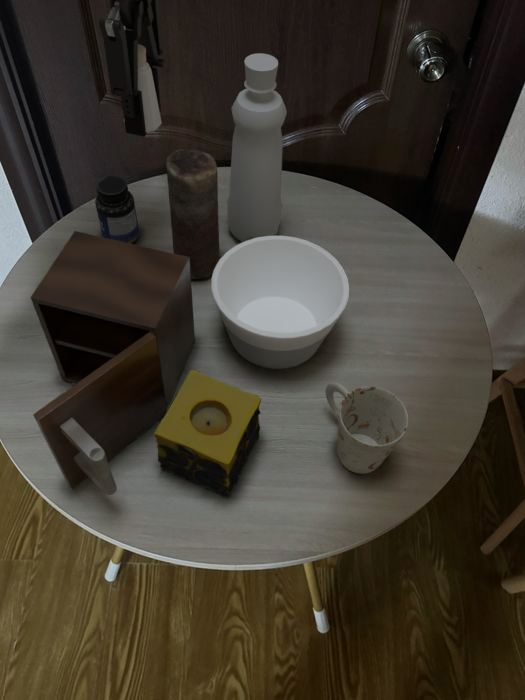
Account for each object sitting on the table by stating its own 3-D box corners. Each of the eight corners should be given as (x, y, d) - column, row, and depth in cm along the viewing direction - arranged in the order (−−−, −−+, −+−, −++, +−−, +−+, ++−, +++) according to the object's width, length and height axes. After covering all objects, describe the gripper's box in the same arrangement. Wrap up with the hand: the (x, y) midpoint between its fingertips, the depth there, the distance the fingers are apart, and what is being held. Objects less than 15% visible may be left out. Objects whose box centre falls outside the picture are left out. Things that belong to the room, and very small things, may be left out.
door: (198, 443, 82) (193, 368, 68) (103, 524, 75) (75, 460, 61) (162, 409, 85) (149, 331, 71) (67, 484, 78) (32, 414, 64)
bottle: (281, 214, 109) (296, 47, 85) (278, 250, 104) (293, 83, 80) (229, 210, 110) (230, 42, 85) (224, 246, 104) (223, 77, 80)
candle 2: (193, 407, 85) (190, 366, 77) (261, 434, 83) (264, 394, 75) (157, 469, 79) (149, 431, 71) (229, 500, 77) (229, 464, 69)
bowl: (309, 273, 101) (317, 223, 93) (359, 364, 91) (373, 317, 82) (196, 300, 97) (193, 250, 88) (235, 399, 86) (236, 353, 78)
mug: (356, 494, 79) (371, 458, 71) (296, 423, 84) (303, 383, 76) (403, 460, 82) (423, 422, 74) (342, 394, 88) (353, 352, 80)
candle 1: (184, 244, 104) (176, 141, 88) (225, 254, 103) (225, 151, 87) (168, 275, 99) (156, 173, 83) (211, 286, 99) (208, 185, 83)
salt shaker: (121, 133, 88) (110, 57, 79) (126, 111, 91) (117, 36, 82) (159, 135, 88) (153, 60, 79) (163, 113, 91) (158, 38, 82)
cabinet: (167, 407, 85) (155, 328, 71) (62, 380, 87) (30, 297, 73) (195, 341, 92) (189, 256, 78) (97, 317, 94) (74, 230, 80)
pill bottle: (102, 226, 106) (91, 173, 97) (138, 223, 106) (130, 170, 98) (103, 251, 102) (91, 199, 93) (140, 248, 103) (132, 195, 94)
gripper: (123, -22, 65) (144, 164, 83) (181, -83, 75) (189, 93, 94) (56, -34, 66) (93, 153, 84) (124, -93, 76) (143, 84, 95)
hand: (143, 121), depth 89 cm, fingers closed on salt shaker, 5 cm apart
